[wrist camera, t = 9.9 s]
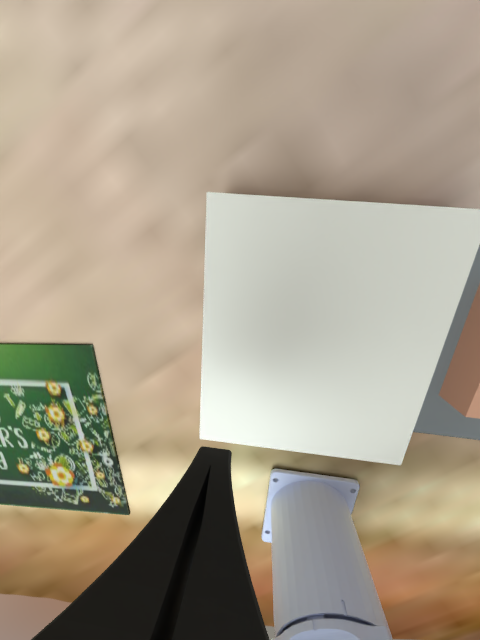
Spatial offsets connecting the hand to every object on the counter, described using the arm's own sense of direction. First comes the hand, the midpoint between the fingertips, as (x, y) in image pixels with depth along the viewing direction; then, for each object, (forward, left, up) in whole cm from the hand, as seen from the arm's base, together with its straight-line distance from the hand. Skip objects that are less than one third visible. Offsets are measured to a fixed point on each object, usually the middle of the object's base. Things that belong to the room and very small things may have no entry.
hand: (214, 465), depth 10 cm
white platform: (+4, -5, -9) cm, 11 cm away
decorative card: (-11, +28, -10) cm, 32 cm away
